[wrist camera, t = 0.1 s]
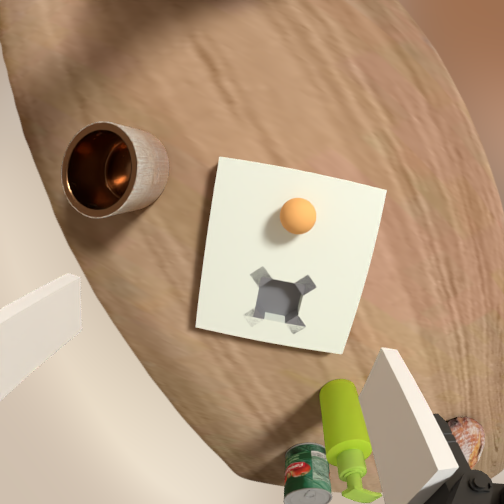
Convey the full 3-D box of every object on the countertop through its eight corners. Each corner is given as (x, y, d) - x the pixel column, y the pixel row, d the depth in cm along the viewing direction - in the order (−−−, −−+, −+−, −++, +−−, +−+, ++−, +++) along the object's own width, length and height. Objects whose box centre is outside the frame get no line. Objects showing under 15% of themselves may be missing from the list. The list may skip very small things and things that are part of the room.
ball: (283, 193, 35) (283, 195, 31) (317, 200, 35) (321, 203, 31) (277, 227, 36) (276, 233, 32) (310, 234, 36) (313, 240, 32)
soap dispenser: (341, 414, 45) (358, 512, 25) (311, 396, 44) (319, 501, 25) (367, 392, 43) (397, 490, 24) (337, 372, 43) (360, 477, 23)
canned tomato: (321, 467, 48) (324, 510, 38) (281, 464, 49) (279, 509, 38) (332, 442, 46) (338, 489, 36) (289, 440, 47) (288, 488, 36)
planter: (104, 212, 41) (64, 223, 31) (100, 138, 38) (58, 132, 29) (174, 206, 39) (143, 215, 30) (169, 124, 37) (137, 111, 28)
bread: (425, 474, 49) (433, 505, 40) (399, 442, 47) (408, 480, 37) (485, 439, 45) (498, 468, 35) (471, 399, 42) (489, 433, 33)
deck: (223, 157, 37) (219, 156, 35) (380, 189, 36) (386, 190, 34) (200, 319, 43) (195, 327, 40) (339, 345, 42) (342, 354, 39)
